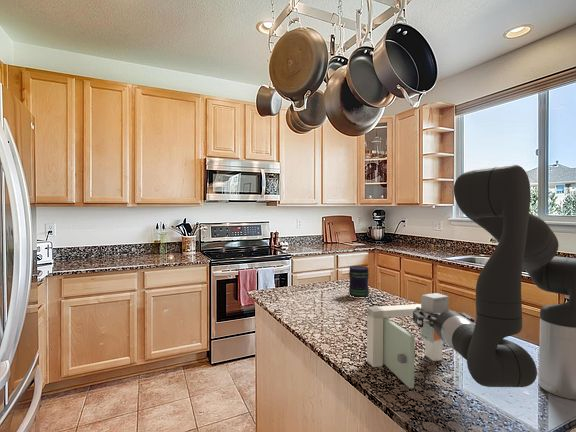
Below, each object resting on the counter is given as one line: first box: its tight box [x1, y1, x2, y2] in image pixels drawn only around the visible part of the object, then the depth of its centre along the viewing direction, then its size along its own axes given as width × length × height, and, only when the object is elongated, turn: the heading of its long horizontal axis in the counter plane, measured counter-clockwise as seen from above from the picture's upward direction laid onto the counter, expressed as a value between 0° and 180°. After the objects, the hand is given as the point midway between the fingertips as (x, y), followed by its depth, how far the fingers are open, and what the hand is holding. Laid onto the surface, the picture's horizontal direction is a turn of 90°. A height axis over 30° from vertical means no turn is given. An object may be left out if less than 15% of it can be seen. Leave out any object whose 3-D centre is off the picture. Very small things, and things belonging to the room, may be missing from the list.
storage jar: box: [348, 265, 370, 298], centre depth 168 cm, size 10×10×15 cm
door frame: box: [366, 303, 444, 368], centre depth 97 cm, size 22×4×16 cm, turn 102°
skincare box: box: [419, 292, 450, 342], centre depth 90 cm, size 6×4×12 cm
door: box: [383, 317, 416, 389], centre depth 89 cm, size 16×3×13 cm, turn 12°
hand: (431, 310), depth 92 cm, fingers closed on skincare box, 7 cm apart
